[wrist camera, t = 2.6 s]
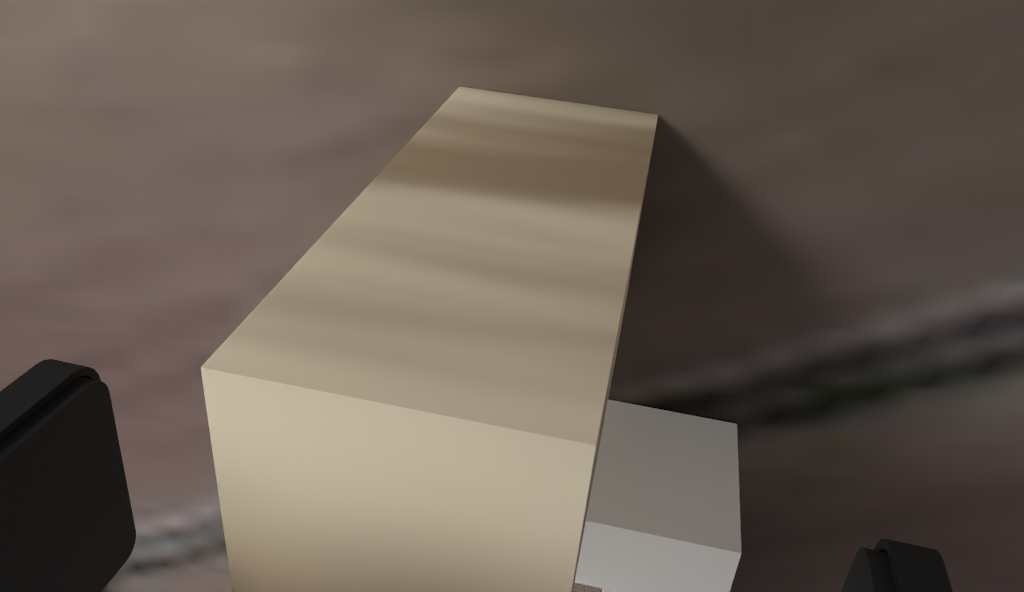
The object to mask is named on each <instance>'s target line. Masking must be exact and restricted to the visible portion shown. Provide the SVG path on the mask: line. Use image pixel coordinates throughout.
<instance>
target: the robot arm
mask: <svg viewBox="0 0 1024 592" xmlns="http://www.w3.org/2000/svg"><path fill="white" fill-rule="evenodd" d="M135 539H136V530H135V525H134V520H133V514H132V509H131V504H130V499H129V493H128V488H127V483H126V477H125V472H124V467H123V462H122V456H121V451H120V446H119V440H118V435H117V430H116V425H115V419H114V414H113V409H112V404H111V398H110V393H109V390H108V387H107V385H106V384H105V383H104V382H101V380H100V377H99V375H98V373H97V372H96V371H95V370H94V369H92V368H89V367H85V366H81V365H76V364H71V363H67V362H62V361H58V360H53V359H49V360H43V361H42V362H40V363H38V364H36V365H35V366H34V367H32V368H31V369H30V370H28V371H27V372H26V373H24V374H23V375H22V376H20V377H19V378H18V379H16V380H15V381H14V382H12V383H11V384H10V385H8V386H7V387H6V388H4V389H3V390H2V391H0V592H101V591H102V590H103V588H104V587H105V586H106V585H107V584H108V583H109V581H110V580H111V579H112V578H113V577H114V575H115V574H116V573H117V572H118V571H119V569H120V568H121V567H122V566H123V565H124V563H125V562H126V561H127V559H128V558H129V556H130V554H131V552H132V550H133V547H134V544H135ZM841 592H952V588H951V585H950V582H949V578H948V575H947V572H946V568H945V565H944V562H943V559H942V557H941V555H940V553H939V552H938V551H937V550H934V549H929V548H925V547H920V546H915V545H911V544H906V543H902V542H897V541H892V540H888V539H881V540H880V541H879V542H878V543H877V545H876V547H875V549H874V550H871V549H867V548H860V549H859V550H858V552H857V554H856V556H855V559H854V561H853V564H852V566H851V569H850V571H849V574H848V576H847V579H846V581H845V584H844V586H843V589H842V591H841Z"/></svg>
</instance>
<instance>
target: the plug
mask: <svg viewBox="0 0 1024 592" xmlns="http://www.w3.org/2000/svg"><path fill="white" fill-rule="evenodd" d="M657 119H658V115H657V114H650V113H643V112H636V111H629V110H622V109H615V108H608V107H601V106H594V105H587V104H580V103H572V102H565V101H558V100H551V99H544V98H537V97H530V96H523V95H516V94H509V93H502V92H495V91H487V90H480V89H473V88H466V87H459V88H458V89H457V90H456V91H455V92H454V93H453V94H452V95H451V96H450V97H449V98H448V100H447V101H446V102H445V103H444V104H443V105H442V106H441V107H440V108H439V109H438V110H437V111H436V113H435V114H434V115H433V116H432V117H431V118H430V119H429V120H428V121H427V122H426V123H425V124H424V126H423V127H422V128H421V129H420V130H419V131H418V132H417V133H416V134H415V135H414V136H413V138H412V139H411V140H410V141H409V142H408V143H407V144H406V145H405V146H404V147H403V148H402V149H401V151H400V152H399V153H398V154H397V155H396V156H395V157H394V158H393V159H392V160H391V161H390V162H389V164H388V165H387V166H386V167H385V168H384V169H383V170H382V171H381V172H380V173H379V174H378V175H377V177H376V178H375V179H374V180H373V181H372V182H371V183H370V184H369V185H368V186H367V187H366V189H365V190H364V191H363V192H362V193H361V194H360V195H359V196H358V197H357V198H356V199H355V200H354V202H353V203H352V204H351V205H350V206H349V207H348V208H347V209H346V210H345V211H344V212H343V213H342V215H341V216H340V217H339V218H338V219H337V220H336V221H335V222H334V223H333V224H332V225H331V226H330V228H329V229H328V230H327V231H326V232H325V233H324V234H323V235H322V236H321V237H320V238H319V240H318V241H317V242H316V243H315V244H314V245H313V246H312V247H311V248H310V249H309V250H308V251H307V253H306V254H305V255H304V256H303V257H302V258H301V259H300V260H299V261H298V262H297V263H296V264H295V266H294V267H293V268H292V269H291V270H290V271H289V272H288V273H287V274H286V275H285V276H284V277H283V279H282V280H281V281H280V282H279V283H278V284H277V285H276V286H275V287H274V288H273V289H272V291H271V292H270V293H269V294H268V295H267V296H266V297H265V298H264V299H263V300H262V301H261V302H260V304H259V305H258V306H257V307H256V308H255V309H254V310H253V311H252V312H251V313H250V314H249V315H248V317H247V318H246V319H245V320H244V321H243V322H242V323H241V324H240V325H239V326H238V327H237V328H236V330H235V331H234V332H233V333H232V334H231V335H230V336H229V337H228V338H227V339H226V340H225V342H224V343H223V344H222V345H221V346H220V347H219V348H218V349H217V350H216V351H215V352H214V353H213V355H212V356H211V357H210V358H209V359H208V360H207V361H206V362H205V363H204V364H203V365H202V366H201V373H202V380H203V387H204V394H205V401H206V408H207V415H208V422H209V429H210V436H211V443H212V450H213V458H214V465H215V472H216V479H217V486H218V493H219V500H220V507H221V514H222V521H223V528H224V535H225V542H226V549H227V556H228V563H229V570H230V577H231V584H232V591H233V592H573V588H574V583H575V577H576V572H577V566H578V561H579V556H580V550H581V545H582V539H583V534H584V528H585V523H586V517H587V512H588V506H589V501H590V495H591V490H592V484H593V479H594V473H595V468H596V462H597V457H598V451H599V446H600V441H601V435H602V430H603V424H604V419H605V413H606V408H607V402H608V397H609V391H610V386H611V380H612V375H613V369H614V364H615V358H616V353H617V347H618V342H619V337H620V331H621V326H622V320H623V315H624V309H625V304H626V298H627V293H628V287H629V281H630V275H631V270H632V264H633V258H634V252H635V247H636V241H637V235H638V229H639V223H640V218H641V212H642V206H643V200H644V194H645V189H646V183H647V177H648V171H649V166H650V160H651V154H652V148H653V142H654V137H655V131H656V125H657Z"/></svg>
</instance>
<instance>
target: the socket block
mask: <svg viewBox="0 0 1024 592" xmlns="http://www.w3.org/2000/svg"><path fill="white" fill-rule="evenodd" d="M741 554H742V552H741V523H740V495H739V466H738V437H737V424H735V423H730V422H725V421H719V420H714V419H709V418H703V417H698V416H693V415H688V414H682V413H677V412H672V411H667V410H661V409H656V408H651V407H645V406H640V405H635V404H630V403H624V402H619V401H614V400H608V402H607V408H606V413H605V419H604V424H603V430H602V435H601V441H600V446H599V451H598V457H597V462H596V468H595V473H594V479H593V484H592V490H591V495H590V501H589V506H588V512H587V517H586V523H585V528H584V534H583V539H582V545H581V550H580V556H579V561H578V566H577V572H576V577H575V583H580V584H584V585H589V586H593V587H598V588H602V592H732V587H731V585H732V582H733V579H734V576H735V573H736V570H737V566H738V563H739V560H740V557H741Z"/></svg>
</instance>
